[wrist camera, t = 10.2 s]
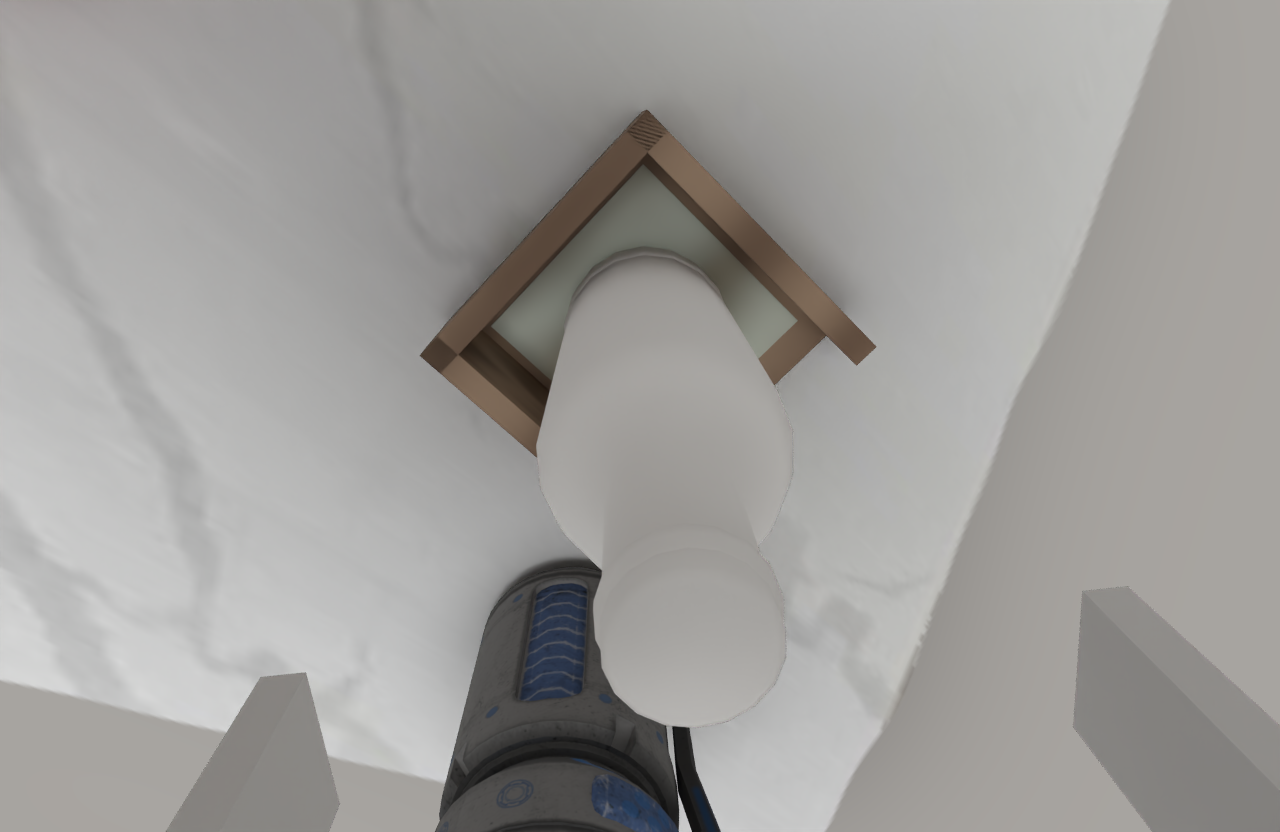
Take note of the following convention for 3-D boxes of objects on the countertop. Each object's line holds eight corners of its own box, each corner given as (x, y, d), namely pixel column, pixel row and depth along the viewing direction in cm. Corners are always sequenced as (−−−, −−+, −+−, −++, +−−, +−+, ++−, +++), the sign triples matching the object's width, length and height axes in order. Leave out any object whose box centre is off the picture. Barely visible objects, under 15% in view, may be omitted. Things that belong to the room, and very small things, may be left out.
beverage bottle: (709, 696, 54) (785, 1155, 30) (487, 718, 54) (388, 1194, 30) (696, 543, 50) (770, 919, 27) (461, 566, 50) (325, 962, 27)
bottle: (752, 289, 45) (986, 573, 17) (678, 422, 47) (773, 877, 19) (610, 215, 44) (597, 385, 15) (540, 355, 46) (415, 734, 17)
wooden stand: (446, 323, 46) (419, 355, 40) (642, 111, 43) (647, 109, 37) (646, 502, 49) (651, 557, 43) (841, 316, 47) (876, 347, 40)
